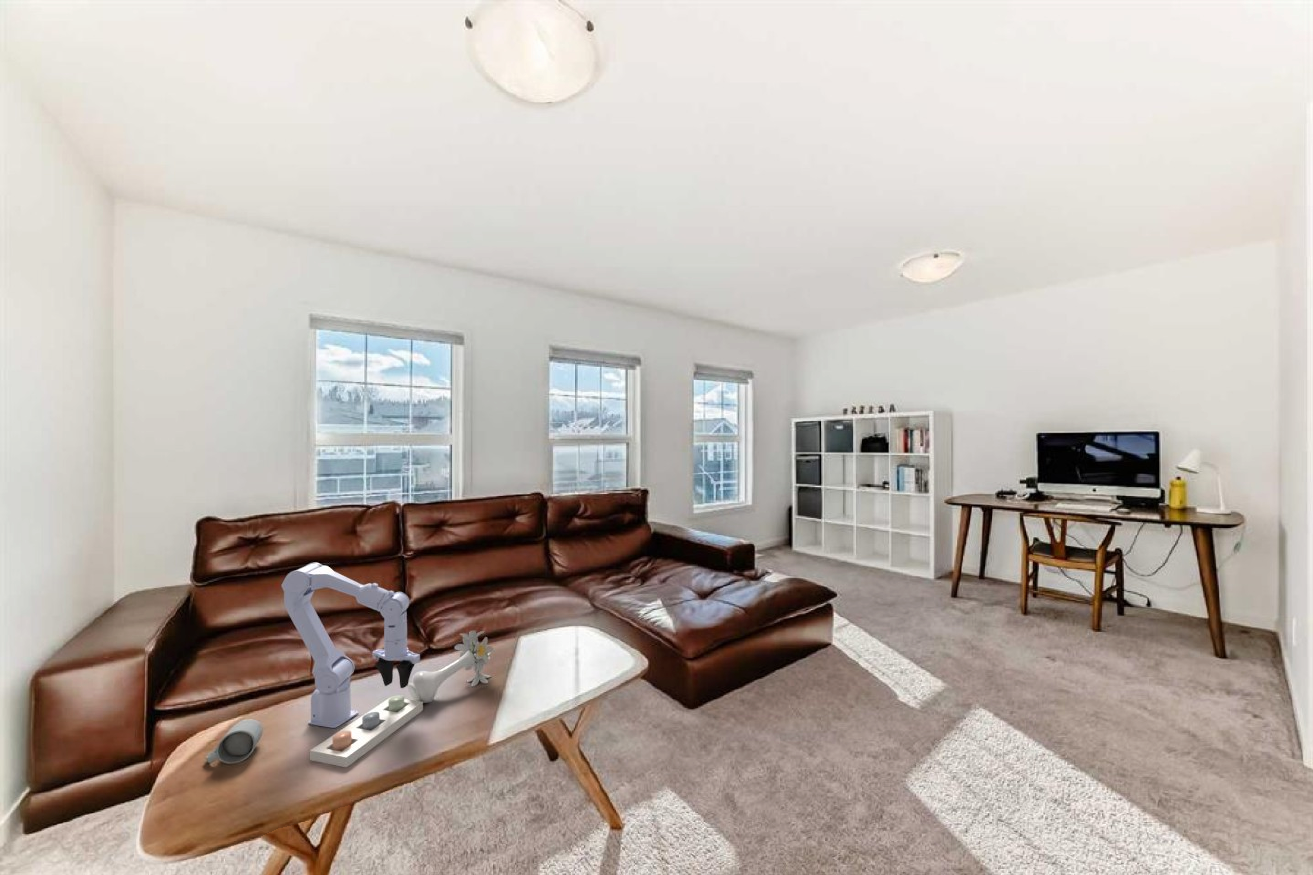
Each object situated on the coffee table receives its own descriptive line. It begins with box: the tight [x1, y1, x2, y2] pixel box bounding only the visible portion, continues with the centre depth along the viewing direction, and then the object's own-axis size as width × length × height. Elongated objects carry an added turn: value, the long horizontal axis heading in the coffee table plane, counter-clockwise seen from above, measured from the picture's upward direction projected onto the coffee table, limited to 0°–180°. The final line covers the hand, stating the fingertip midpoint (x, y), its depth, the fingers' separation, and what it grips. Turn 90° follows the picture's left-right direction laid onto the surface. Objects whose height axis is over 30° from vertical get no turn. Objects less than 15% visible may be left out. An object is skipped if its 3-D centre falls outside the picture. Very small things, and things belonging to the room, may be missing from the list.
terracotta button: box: [332, 731, 352, 752], centre depth 126 cm, size 4×4×3 cm
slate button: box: [361, 712, 380, 731], centre depth 135 cm, size 4×4×3 cm
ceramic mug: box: [205, 718, 264, 765], centre depth 126 cm, size 11×8×8 cm
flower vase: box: [407, 630, 494, 704], centre depth 158 cm, size 13×18×25 cm
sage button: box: [388, 694, 405, 712], centre depth 144 cm, size 4×4×3 cm
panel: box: [309, 696, 424, 768], centre depth 135 cm, size 11×26×2 cm, turn 165°
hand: (396, 685), depth 144 cm, fingers open, 5 cm apart
